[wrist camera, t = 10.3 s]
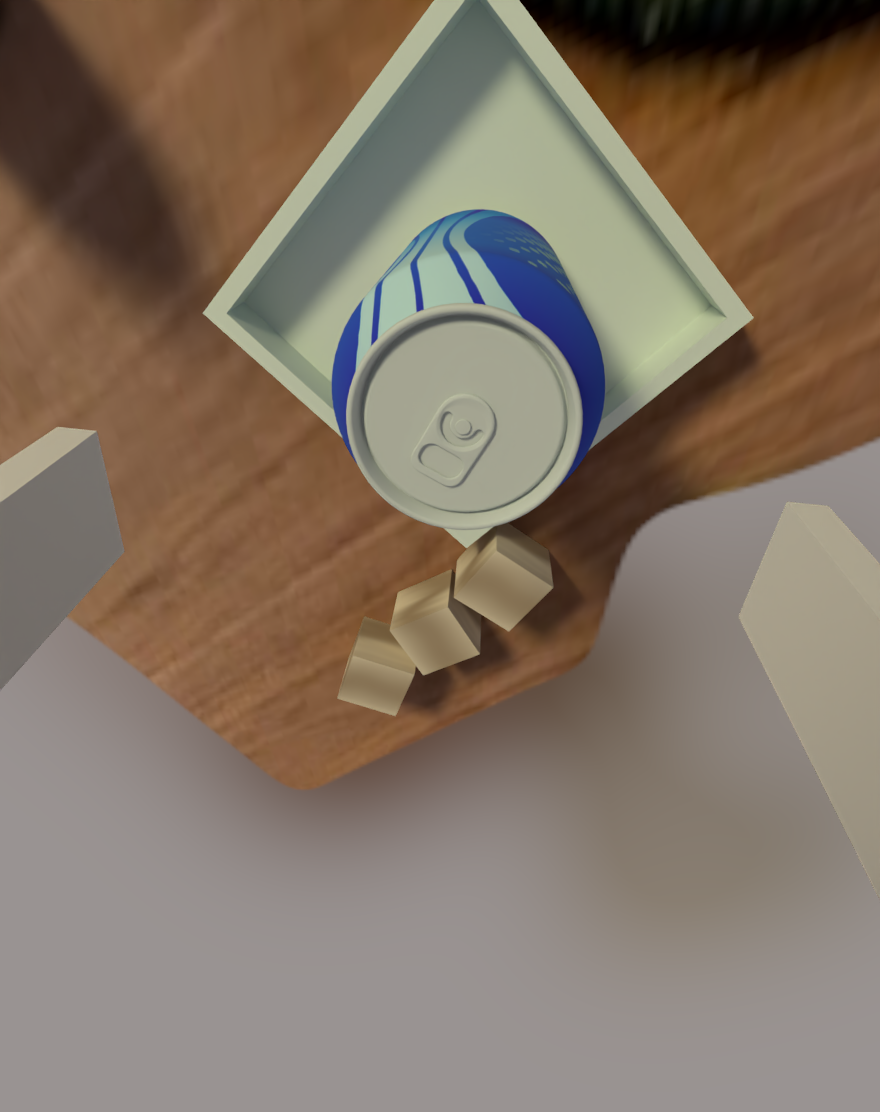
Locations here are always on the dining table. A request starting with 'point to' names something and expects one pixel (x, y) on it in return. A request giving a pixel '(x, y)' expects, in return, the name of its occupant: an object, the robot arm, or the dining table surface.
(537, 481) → the beer can
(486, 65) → the tray
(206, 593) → the dining table surface
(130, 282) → the dining table surface
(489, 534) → the beech cube
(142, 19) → the dining table surface
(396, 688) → the beech cube
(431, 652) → the beech cube
